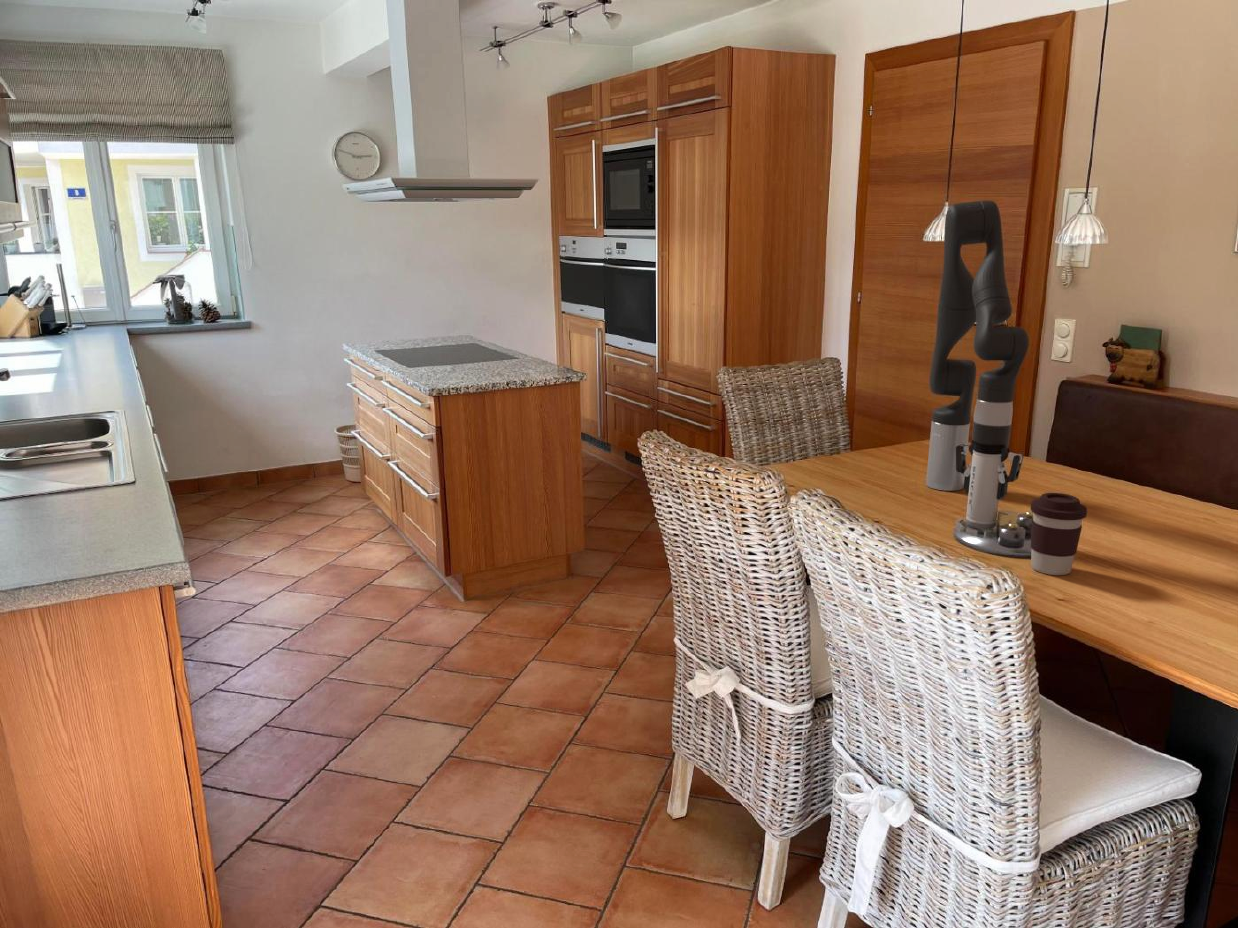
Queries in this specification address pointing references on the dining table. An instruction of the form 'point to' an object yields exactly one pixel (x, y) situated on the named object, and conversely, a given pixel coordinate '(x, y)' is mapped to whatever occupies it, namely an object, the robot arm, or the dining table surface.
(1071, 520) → the coffee cup
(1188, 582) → the dining table surface
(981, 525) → the travel mug
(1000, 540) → the carrier plate
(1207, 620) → the dining table surface
